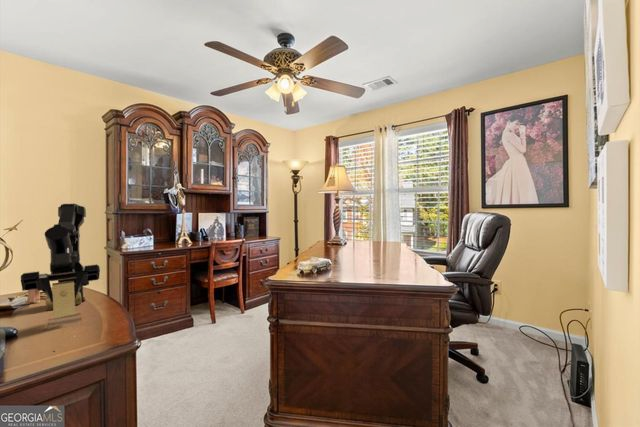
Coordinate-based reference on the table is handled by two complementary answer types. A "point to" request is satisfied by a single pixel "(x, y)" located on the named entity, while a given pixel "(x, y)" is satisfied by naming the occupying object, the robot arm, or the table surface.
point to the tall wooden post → (63, 298)
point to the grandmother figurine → (33, 296)
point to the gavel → (50, 304)
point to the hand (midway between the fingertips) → (64, 299)
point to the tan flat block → (64, 321)
